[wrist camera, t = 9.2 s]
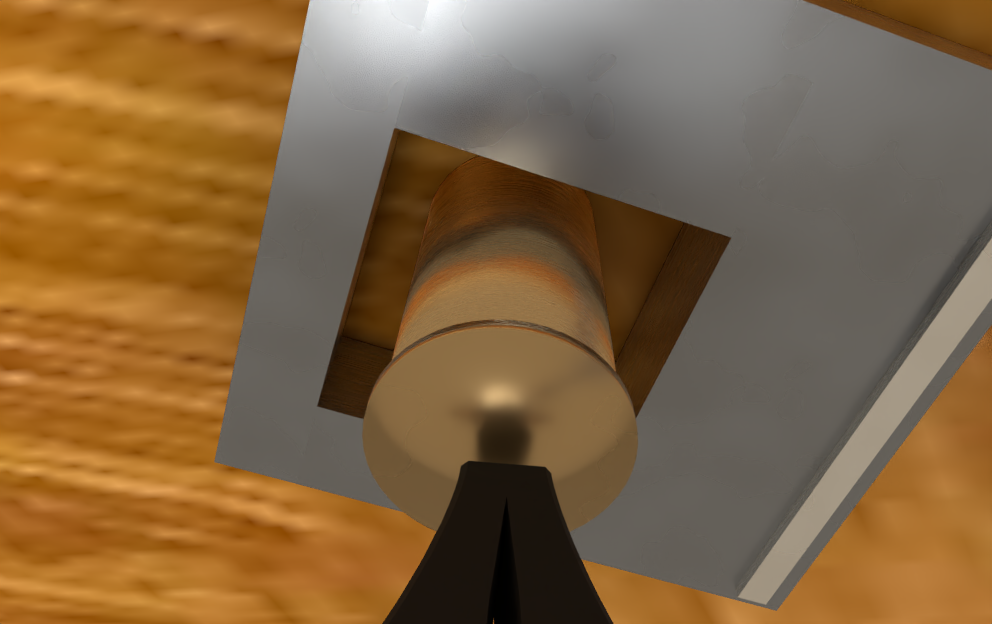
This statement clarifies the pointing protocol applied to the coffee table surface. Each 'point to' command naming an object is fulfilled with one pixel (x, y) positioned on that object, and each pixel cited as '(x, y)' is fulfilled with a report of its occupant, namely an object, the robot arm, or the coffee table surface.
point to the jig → (690, 264)
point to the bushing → (503, 351)
